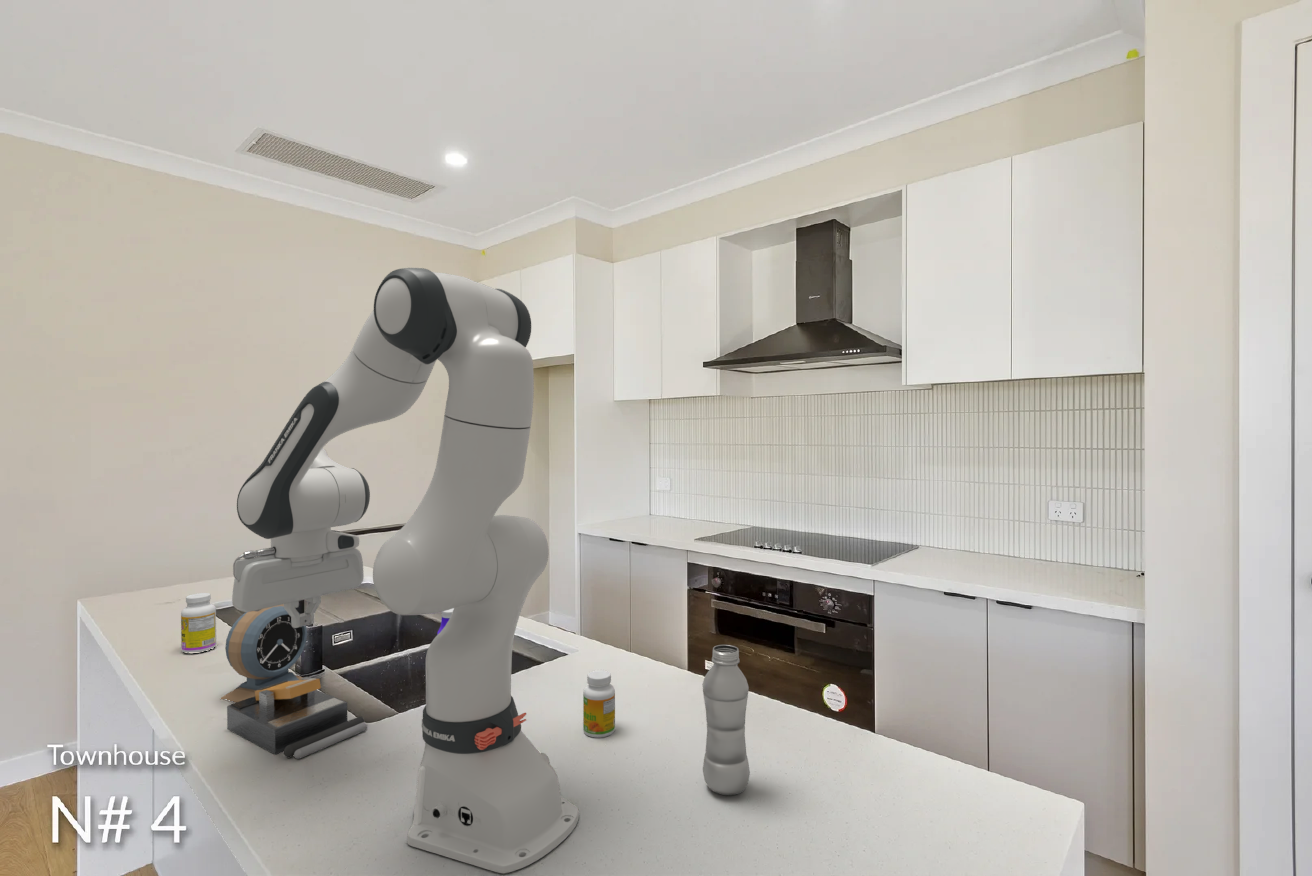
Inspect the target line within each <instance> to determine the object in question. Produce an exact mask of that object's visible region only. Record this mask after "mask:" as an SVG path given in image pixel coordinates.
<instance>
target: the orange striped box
mask: <svg viewBox="0 0 1312 876" xmlns="http://www.w3.org/2000/svg"><path fill="white" fill-rule="evenodd" d="M319 689H322V685H321V678H316V677H313V678H312V679H309V680H297V681H282V682H279V683H276V684H273V685H270V686H267V687H264V688H260V689H258V690H257V691H255V698H256V701H257V700H259V692H261V691H264V690H269V691H271V692H273V693H274V700H275V699H291V698H294V697H297V696H300V695H303V694H306V693H309V692H311V691H314V690H319Z"/></svg>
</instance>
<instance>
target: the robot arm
mask: <svg viewBox="0 0 1312 876" xmlns="http://www.w3.org/2000/svg"><path fill="white" fill-rule="evenodd" d="M531 333H532V319H531V314H530V312H529V310H528V307H527V305H526V304H525V303H524V302H523V301H522V300H521V299H520V298H518V297H517V296H515V295H514V294H512V293H510V292H508V291H506V290H504V289H502V288H494V287H492V286H489V285H486V284H483V283H481V282H478V281H475V280H472V279H471V278H469V277H466V276H463V275H457V274H451V273H447V272H446V273H445V272H438V271H437V272H436V271H433V270H432V271H431V270H430V269H428V268H423V267H402V268H398V269H394V270H392V271H390V272H389V273H388V274H387V275H386V276H384V278H383V279H382V281H381V283H379V286H378V287H377V290H376V293H375V296H374V301H373V309H372V311H371V313H370V314H369V316H368V318H367V319H366V321H365V322H364V324H363V325H362V326H361V330H360V331H359V334H358V336H357V337H356V339H355V342H354V344H353V345H352V349H351V350H350V352H349V354H348V356H347V357H346V359H344V361H343V363H342V364H341V365H340V366H339V367H338V368H337V369H336V370H335V371H334V373H332V374H331V375H330V376H329V377H328V378H327V379H326V380H323V381H322V382H320V383H319V384H316V385H315V386H314V387H312V388H311V389H310V390H309V391H308V392H307V393H306V394H305V396H304V397H303V399H302V400H301V401H300V403H299V404H298V405H297V407H296V409H295V410H294V412H293V413H292V415H291V416H290V417H289V419H288V422H287V423H286V424H285V426H284V428H283V429H282V430H281V432H280V434H279V435H278V437H277V439H276V440H275V442H274V443H273V444H272V447H271V448H270V450H269V451H268V453H267V455H266V456H265V457H264V459H263V461H262V462H261V463H260V464H259V466H258V467H257V468H256V469H255V470H254V471H253V472H252V473H251V474H250V475H249V476H248V477H247V479H246V480H245V482H244V483H243V484H242V486H241V488H240V489H239V491H238V494H237V500H236V510H237V511H236V512H237V516H238V519H239V521H240V522H241V524H242V525H243V526H244V527H246V529H248V530H249V531H251V532H252V533H254V534H256V535H257V536H259V537H261V538H263V539H265V540H270V547H265V548H261V549H257V550H248V551H244V552H243V553H242V554H240V555H239V556H238V557H237V558H235V560H234V561H233V565H232V572H233V573H232V574H233V577H234V581H233V586H232V587H233V588H232V596H231V597H232V598H231V602H232V606H233V607H234V608H235V609H236V610H238V611H240V612H244V613H245V612H250V611H255V610H259V609H264V608H268V607H273V606H277V605H282V604H284V608H285V610H286V611H287V612H288V614H289V615H290V616H291V625H292V627H294V628H298V627H302V626H306V627H307V626H310V625H312V624H314V623H315V614H316V612H317V610H318V608H319V607H320V604H321V601H322V600H321V599H322V598H321V597H323V596H326V595H330V594H334V593H339V592H343V591H347V590H352V589H357V588H359V587H360V586H361V585H362V583H363V581H364V577H365V576H364V562H363V556H362V553H361V551H360V550H359V549H358V547H359V545H360V537H359V536H358V535H356V534H350V533H344V532H341V531H338V530H332V529H331V528H334V527H341V526H347V525H351V524H354V523H357V522H359V521H360V520H361V519H362V517H364V515H365V514H366V512H367V511H368V507H369V504H370V499H371V498H370V497H371V493H370V492H371V491H370V486H369V482H368V481H367V479H366V478H365V476H364V475H363V473H361V472H360V471H359V470H357V468H356V469H355V468H354V467H347V466H345V465H344V464H340V463H338V462H337V461H336V460H333V458H330V456H329V454H328V452H327V450H326V449H325V448H324V447H325V446H326V445H327V444H328V443H329V442H331V440H333V439H335V438H336V437H338V436H340V435H343V434H344V433H348V432H350V431H353V430H355V429H358V428H362V427H365V426H369V425H373V424H378V423H382V422H386V421H390V420H392V419H395V418H397V417H399V416H401V415H402V416H403V415H404V414H405V413H406V412H408V411H409V410H410V409H411V408H412V406H414V404H415V403H416V402H417V400H418V399H419V398H420V396H421V395H422V392H423V390H424V388H425V386H427V385H426V384H427V382H428V380H429V378H430V376H431V373H432V371H433V369H434V367H435V364H436V362H437V361H439V362H441V365H443V367H444V369H445V370H446V372H447V376H448V390H447V391H448V392H447V396H446V397H447V398H446V401H445V409H444V416H443V422H442V429H441V436H440V442H439V448H438V453H437V454H438V455H437V459H436V463H435V464H436V465H435V468H434V472H433V475H432V478H431V481H430V483H429V486H428V488H427V489H426V492H425V494H424V496H423V497H422V500H421V501H420V503H419V505H418V507H417V508H416V510H414V512H413V513H412V515H411V516H410V517H409V519H408V520H407V522H405V524H404V525H403V526H402V527H401V528H400V529H399V530H398V531H397V532H396V533H395V534H393V535H392V536H391V537H389V539H387V540H386V541H385V542H384V543H383V544H382V545H381V547H380V548H379V550H378V552H377V554H376V556H375V560H374V563H373V567H372V569H373V570H372V581H373V582H372V583H373V587H374V590H375V593H376V595H377V596H378V598H379V600H380V601H381V602H382V604H383V606H385V607H386V608H387V609H388V610H389V611H390V612H392V613H393V614H396V615H399V616H418V615H420V616H422V615H430V614H431V615H432V614H434V615H435V614H439V613H442V612H443V611H446V610H449V609H453V608H454V610H453V612H452V615H451V617H450V619H449V621H448V622H447V624H446V626H445V627H444V628H443V630H442V631H441V632H440V633H439V634H438V635H436V636H435V637H434V638H433V640H432V641H431V643H430V644H429V647H428V648H427V651H426V654H425V655H426V657H425V706H424V707H423V710H422V718H421V729H422V730H421V731H422V735H421V736H422V737H421V738H422V740H423V741H424V742H425V743H424V750H423V753H422V758H421V762H420V765H419V768H418V772H417V781H416V791H415V803H414V812H413V815H412V821H413V822H412V824H411V826H410V828H409V830H408V832H407V838H406V844H407V845H409V846H411V847H414V848H417V849H420V850H423V851H427V852H430V853H433V854H435V855H436V854H437V855H440V856H443V857H446V858H449V859H453V860H454V861H455V860H456V861H459V862H462V863H466V864H468V865H472V866H476V867H478V868H481V869H485V870H488V871H491V872H495V873H499V874H508V873H511V872H515V871H517V870H520V869H523V868H525V867H527V866H529V865H531V864H534V863H535V862H537V861H538V860H540V859H541V858H543V857H545V856H546V855H548V854H549V853H550V852H551V851H552V850H555V849H556V847H558V846H559V845H560V844H561V843H562V842H563V841H564V840H566V838H568V837H569V835H571V833H572V832H573V831H574V830H575V828H576V826H577V824H578V822H579V819H580V811H579V809H580V808H579V807H578V806H577V805H575V804H574V803H573V802H570V801H569V800H568V799H566V798H565V797H563V796H562V795H561V788H560V782H559V778H558V774H557V771H556V770H555V768H554V767H553V766H552V765H551V764H550V759H549V756H548V754H546V753H544V752H540V751H539V749H538V748H536V746H535V745H534V744H533V743H532V742H531V740H530V739H529V738H528V737H527V736H526V734H525V732H523V730H522V724H523V723H524V722H526V721H527V718H524V717H526V715H527V712H523V713H521V714H519V712H518V709H517V705H516V702H515V700H514V697H513V696H512V658H513V657H512V656H513V645H514V640H515V639H514V637H515V634H516V629H517V625H518V622H519V619H520V615H521V612H522V609H523V608H524V607H523V606H524V604H525V601H526V599H527V597H528V595H529V592H530V590H531V589H532V588H533V585H534V584H535V583H536V581H537V580H538V579H539V577H540V576H541V575H542V574H543V572H544V571H545V569H546V567H547V564H548V560H549V555H550V554H549V553H550V552H549V543H548V539H547V536H546V534H545V532H544V531H543V529H542V528H541V526H540V525H539V523H537V522H536V521H535V520H533V519H531V518H529V517H523V516H515V515H507V514H499V515H496V513H497V512H498V510H499V509H500V507H501V506H502V504H503V503H504V502H505V501H506V500H507V499H508V498H509V497H510V496H511V495H512V494H515V491H516V490H517V489H518V488H519V487H520V485H521V484H522V481H523V478H524V473H525V468H526V460H527V455H528V454H527V453H528V446H529V439H530V435H531V426H532V418H533V409H534V397H535V396H534V392H535V390H534V389H535V386H534V385H535V380H534V379H535V377H534V376H535V375H534V374H535V373H534V361H533V357H532V355H531V353H530V351H529V350H528V349H527V348H526V347H527V346H528V344H529V341H530V338H531V335H532V334H531ZM303 600H305V602H306V603H308V604H307V607H306V609H305V611H304V612H303V613H300V612H299V611H298V610H297V609H296V608H299V606H300V603H299V602H300V601H303Z"/></svg>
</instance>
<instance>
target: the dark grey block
mask: <svg viewBox="0 0 1312 876" xmlns="http://www.w3.org/2000/svg"><path fill="white" fill-rule="evenodd" d="M309 679H312V678H311V677H309V676H303V678H301V679H300V680H309ZM348 714H349V713H348V701H345V700H342V699H340V698H338V697H335V696H333V695H330V694H328V693H326V692H323V691H320V690H319V689H317V690H314V691H311V692H309V693H306V694H303V695H300V696H297V697H294V698H291V699H275V700H274V693H273V692H271V691H269V690H264V691H261V692H259V700H257V701H256V698H255V696H254V697H251V698H248V699H245V700H242V701H239V702H232V703H230V704H228V705H227V706H226V716H227V719H226V722H227V723H226V728H227V730H228V731H230V732H232V733H234V734H236V735H238V736H240V737H241V738H244V739H245V740H247V741H249V742H250V743H252V744H254V745H256V746H258V747H260V748H262V749H263V750H266V751H267V752H270V753H272V754H273V755H274V756H276V755H278V754H281V753H284V749H285V748H286V747H287V746H288V745H290V744H293V743H295V742H298V741H300V740H303V739H305V738H308V737H310V736H312V735H315V734H317V733H320V732H322V731H325V730H327V729H330V728H332V727H335V726H337V725H340V724H342V723H345V722H347V721H349V720H348Z"/></svg>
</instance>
